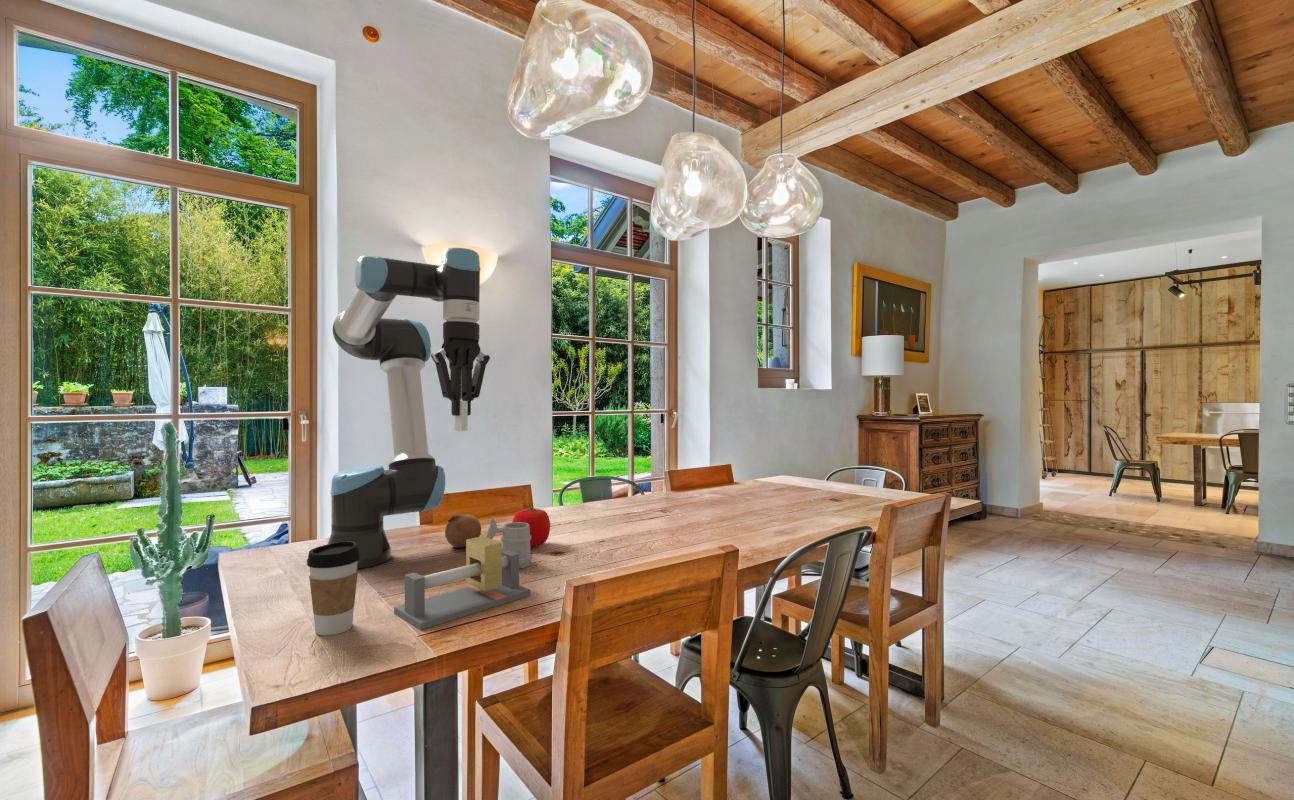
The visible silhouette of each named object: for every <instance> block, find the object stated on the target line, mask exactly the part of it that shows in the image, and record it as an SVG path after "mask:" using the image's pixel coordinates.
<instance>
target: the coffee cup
mask: <svg viewBox="0 0 1294 800" xmlns="http://www.w3.org/2000/svg"><path fill="white" fill-rule="evenodd" d="M307 555H308V557H307V559H306V566H307V567H309V573H310V575H309V579H308V580H309V586H310V588H309V589H310V595H311V596H310V597H311V604H312V605H311V606H312V613H313V619H314V623H313V624H314V632H315V634H316V635H319V636H322V637H323V636H327V637H329V636H334V635H339V634H342V633H345V632H347V631H349V630H351V628H353V624H354V623H353V622H354V610H355V602H356V601H355V600H356V593H357V592H356V591H357V583H358V574H359V573H358V571H359V570H358V569H359V568H358V569H357V561H358V560H359V559H360V557H359V556H360V553H359V549H358V543H357V542H354V541H341V542H336V543H331V544H328V543H326V544H324V545H319V546H317V547H314V548H312V549H310V550H309V552H308V554H307Z"/></svg>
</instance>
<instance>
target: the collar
mask: <svg viewBox="0 0 1294 800" xmlns="http://www.w3.org/2000/svg"><path fill="white" fill-rule="evenodd" d="M502 543H503V542H502V541H500V540H496V539H494V538H492V539H490V538H487V537H486V536H484V535H480V536H479V537H476V538H471V539H467V540H466V547H465V566H467V565H471V564H475V563H479V562H480V561H481V574H480V575H476V576H472V577H469V578H465V583H466V584H468V585H469V586H471V585H472V586H474V587H476V588H478V589H481V590H483V591H488V590H491V589H494V588H498V587H501V586H502Z"/></svg>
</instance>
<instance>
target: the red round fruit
mask: <svg viewBox="0 0 1294 800" xmlns="http://www.w3.org/2000/svg"><path fill="white" fill-rule="evenodd" d="M515 522H523V523H528V524H529V527H530V535H531V540H530V549H533V548H537V547H539V546H542V545H543V544H545V543H546V541H548V538H549V535H550V531H551V521H550V517H549V514H548V513H547V511H546V510H543V509H541V508H540V509H538V508H536V507H535V508H533V507H530V508H523V509H520V510H518V511H517V512H516V513H515V514H514V516H513V519H512V521H511V523H515Z"/></svg>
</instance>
